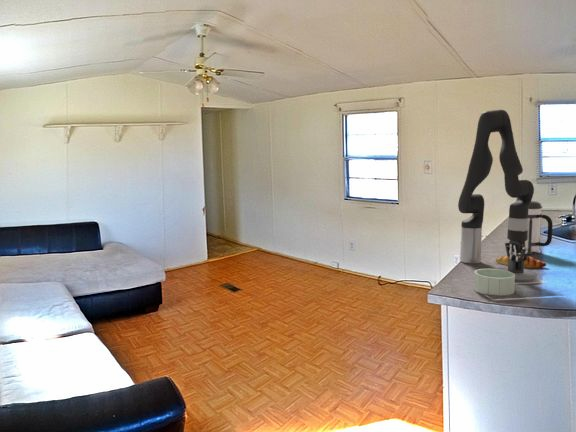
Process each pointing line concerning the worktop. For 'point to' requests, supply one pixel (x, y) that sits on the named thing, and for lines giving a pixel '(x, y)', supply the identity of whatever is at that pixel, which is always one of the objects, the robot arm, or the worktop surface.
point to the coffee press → (536, 228)
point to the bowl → (494, 282)
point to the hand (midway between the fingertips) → (515, 268)
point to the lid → (520, 271)
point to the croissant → (528, 263)
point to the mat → (529, 281)
